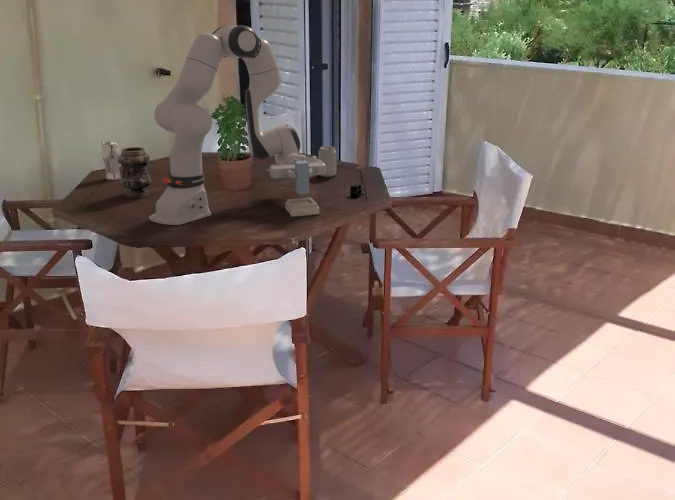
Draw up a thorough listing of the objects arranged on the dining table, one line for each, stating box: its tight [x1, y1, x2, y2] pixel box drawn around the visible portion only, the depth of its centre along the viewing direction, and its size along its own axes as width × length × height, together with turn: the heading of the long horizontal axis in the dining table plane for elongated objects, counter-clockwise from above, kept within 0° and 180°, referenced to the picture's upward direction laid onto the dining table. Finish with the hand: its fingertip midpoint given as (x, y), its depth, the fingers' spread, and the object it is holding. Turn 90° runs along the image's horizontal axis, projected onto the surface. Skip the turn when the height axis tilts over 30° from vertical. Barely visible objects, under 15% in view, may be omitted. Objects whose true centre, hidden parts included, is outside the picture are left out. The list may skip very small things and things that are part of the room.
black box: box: [344, 183, 367, 200], centre depth 285 cm, size 12×7×5 cm, turn 152°
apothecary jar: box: [118, 146, 153, 199], centre depth 283 cm, size 12×12×18 cm
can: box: [318, 145, 337, 178], centre depth 312 cm, size 8×8×12 cm
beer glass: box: [101, 140, 122, 181], centre depth 307 cm, size 7×7×15 cm
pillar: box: [294, 160, 310, 195], centre depth 262 cm, size 4×4×11 cm
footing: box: [284, 197, 320, 217], centre depth 266 cm, size 10×10×4 cm
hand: (302, 175), depth 261 cm, fingers closed on pillar, 4 cm apart
